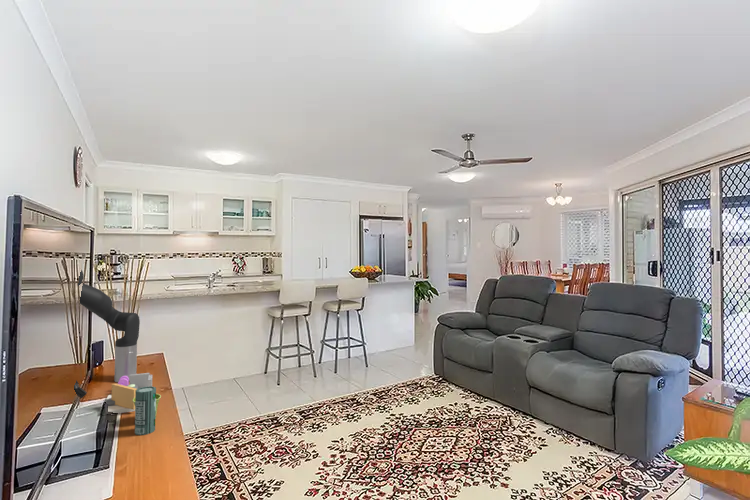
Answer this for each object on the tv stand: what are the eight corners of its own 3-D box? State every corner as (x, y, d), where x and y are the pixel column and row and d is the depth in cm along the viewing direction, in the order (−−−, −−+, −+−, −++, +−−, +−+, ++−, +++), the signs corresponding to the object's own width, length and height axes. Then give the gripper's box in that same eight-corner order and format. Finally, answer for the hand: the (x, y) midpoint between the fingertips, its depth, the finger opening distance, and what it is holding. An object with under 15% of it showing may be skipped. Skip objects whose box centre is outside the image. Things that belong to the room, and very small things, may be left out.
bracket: (117, 395, 179) (117, 379, 179) (119, 391, 184) (119, 376, 184) (151, 391, 184) (151, 376, 184) (151, 387, 189) (152, 372, 189)
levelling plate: (108, 397, 175) (109, 375, 175) (157, 391, 184) (157, 370, 184) (101, 415, 156) (101, 391, 156) (155, 408, 165) (155, 384, 165)
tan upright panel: (102, 404, 164) (103, 384, 164) (115, 400, 168) (115, 381, 168) (129, 411, 157) (129, 391, 157) (141, 407, 161) (141, 387, 161)
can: (158, 428, 146) (159, 387, 146) (145, 436, 140) (146, 392, 140) (144, 426, 148) (145, 385, 148) (130, 434, 142) (131, 391, 142)
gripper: (48, 363, 142) (89, 393, 147) (57, 354, 153) (96, 382, 159) (28, 380, 139) (71, 410, 145) (39, 370, 151) (79, 397, 157)
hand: (84, 395), depth 152 cm, fingers closed
